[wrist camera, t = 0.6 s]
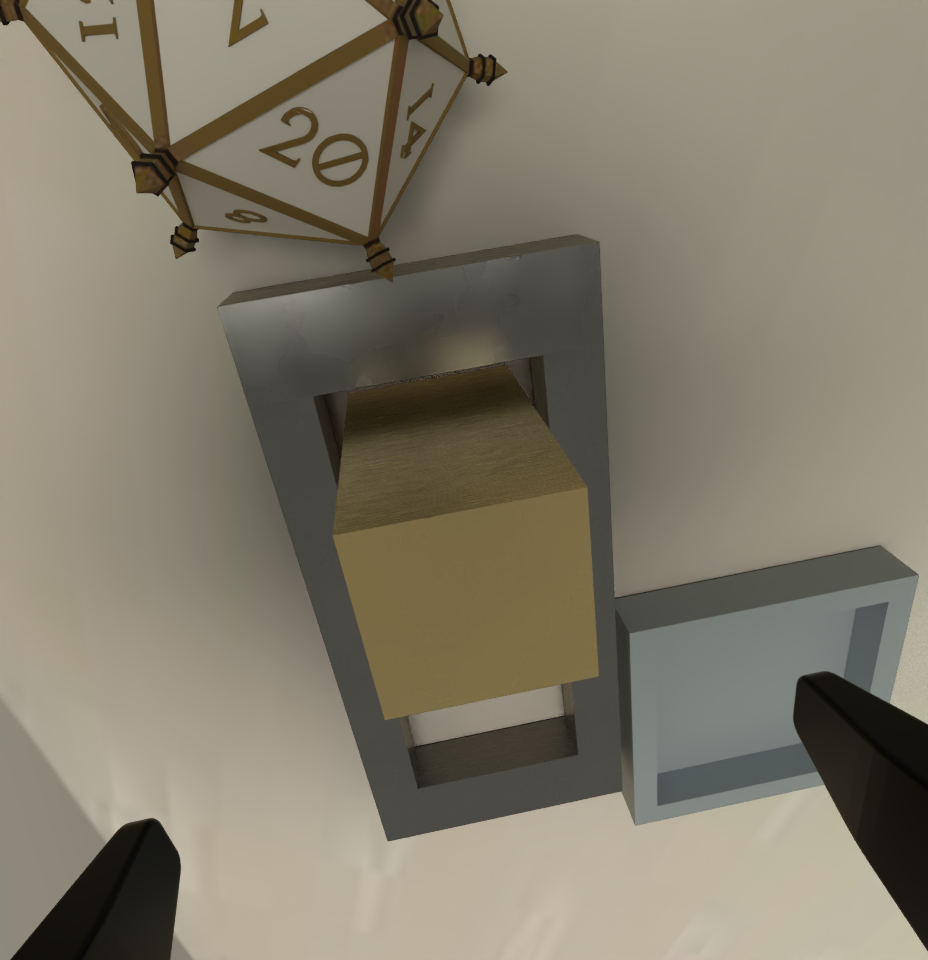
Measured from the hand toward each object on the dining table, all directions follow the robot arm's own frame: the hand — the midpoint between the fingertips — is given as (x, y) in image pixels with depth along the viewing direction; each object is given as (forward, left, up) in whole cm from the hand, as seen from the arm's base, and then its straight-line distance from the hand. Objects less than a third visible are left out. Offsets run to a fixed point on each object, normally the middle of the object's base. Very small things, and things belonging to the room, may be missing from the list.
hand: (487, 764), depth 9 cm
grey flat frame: (0, +6, -13) cm, 14 cm away
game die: (+2, -10, -13) cm, 17 cm away
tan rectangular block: (0, +1, -13) cm, 13 cm away
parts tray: (-11, +14, -13) cm, 22 cm away
